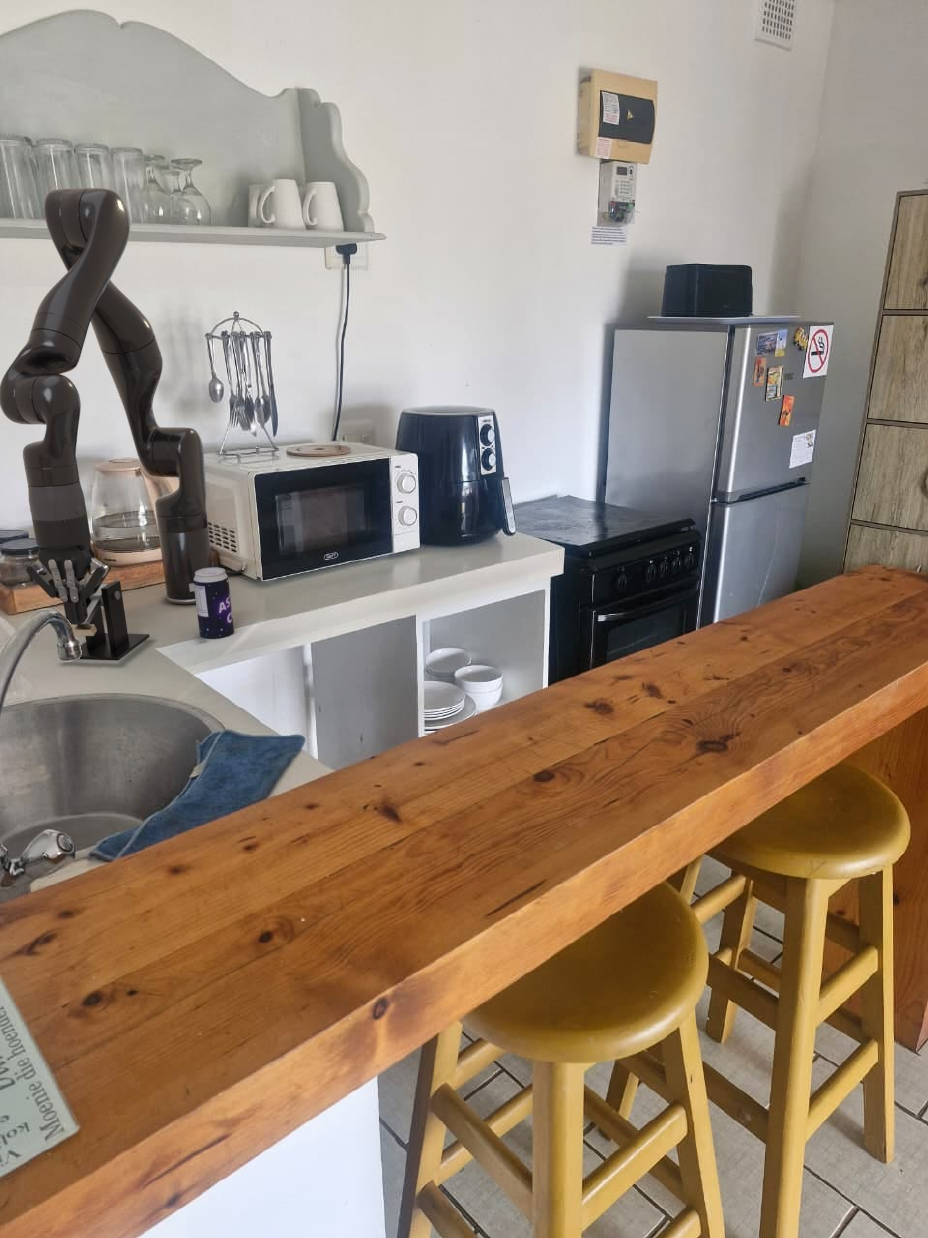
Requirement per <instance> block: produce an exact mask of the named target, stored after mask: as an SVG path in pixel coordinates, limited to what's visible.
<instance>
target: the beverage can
mask: <svg viewBox="0 0 928 1238" xmlns="http://www.w3.org/2000/svg"><path fill="white" fill-rule="evenodd" d="M225 572H226V570H225V568H222V567H215V568H204V569H200V570H198V571H196V572H195V577H194V580H193V581H194V590H195V598H196V604H195V606H196V607H195V608H196V614H197V615H196V616H197V622H198V630H199V637H200V638H202V639H204V640H205V639H207V640H219V639H225V638H227V637H231V636H232V635H233V634H234V633H235V629H234V619H233V611H232V610H233V609H232V608H233V607H232V599H231V592H230V591H231V590H230V581H229V575H226V573H225Z"/></svg>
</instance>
